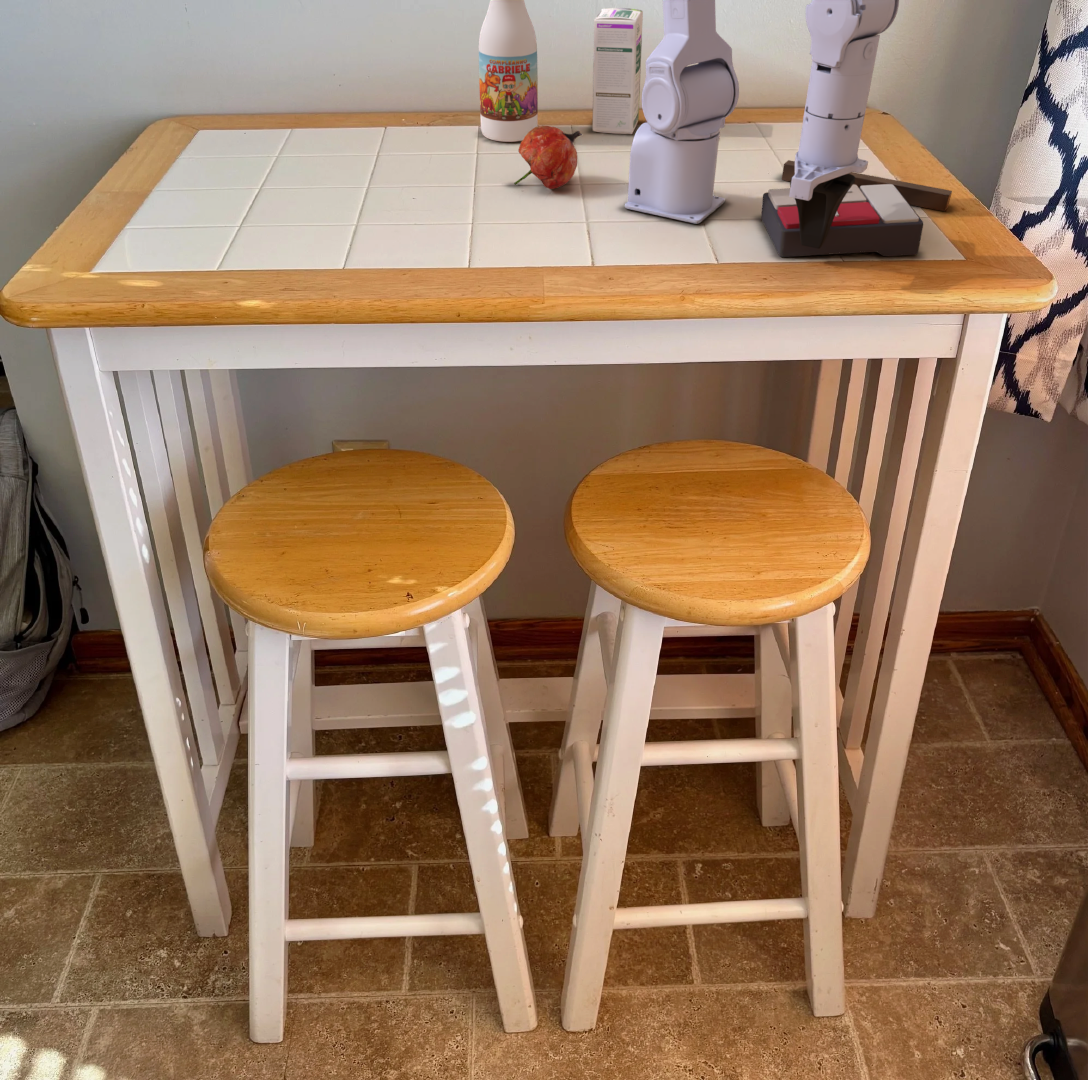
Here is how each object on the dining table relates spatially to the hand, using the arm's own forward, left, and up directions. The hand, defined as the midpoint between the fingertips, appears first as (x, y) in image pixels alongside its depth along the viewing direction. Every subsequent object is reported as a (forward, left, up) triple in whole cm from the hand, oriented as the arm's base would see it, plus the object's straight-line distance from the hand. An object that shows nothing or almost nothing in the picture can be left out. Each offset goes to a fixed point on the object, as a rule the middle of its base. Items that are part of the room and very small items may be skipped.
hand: (811, 245), depth 109 cm
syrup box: (-38, +29, -2) cm, 48 cm away
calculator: (0, +8, -2) cm, 8 cm away
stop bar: (-1, +22, -2) cm, 23 cm away
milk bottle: (-49, +19, -2) cm, 53 cm away
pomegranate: (-35, +5, -2) cm, 36 cm away
